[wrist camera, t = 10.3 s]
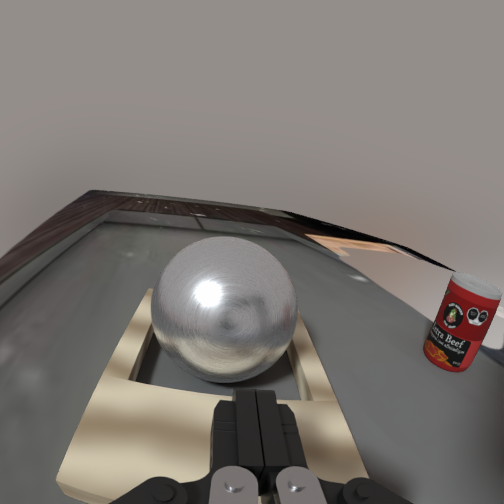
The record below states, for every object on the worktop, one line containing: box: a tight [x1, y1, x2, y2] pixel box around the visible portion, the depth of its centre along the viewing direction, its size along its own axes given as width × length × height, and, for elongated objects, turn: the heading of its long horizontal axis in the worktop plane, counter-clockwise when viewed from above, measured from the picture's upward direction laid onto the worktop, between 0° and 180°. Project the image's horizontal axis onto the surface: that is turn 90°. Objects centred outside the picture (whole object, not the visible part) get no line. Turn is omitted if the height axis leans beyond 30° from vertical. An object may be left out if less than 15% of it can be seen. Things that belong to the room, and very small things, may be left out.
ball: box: [151, 237, 298, 383], centre depth 25 cm, size 12×12×12 cm
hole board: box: [56, 289, 369, 504], centre depth 23 cm, size 26×18×2 cm
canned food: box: [424, 272, 502, 372], centre depth 31 cm, size 8×8×11 cm
